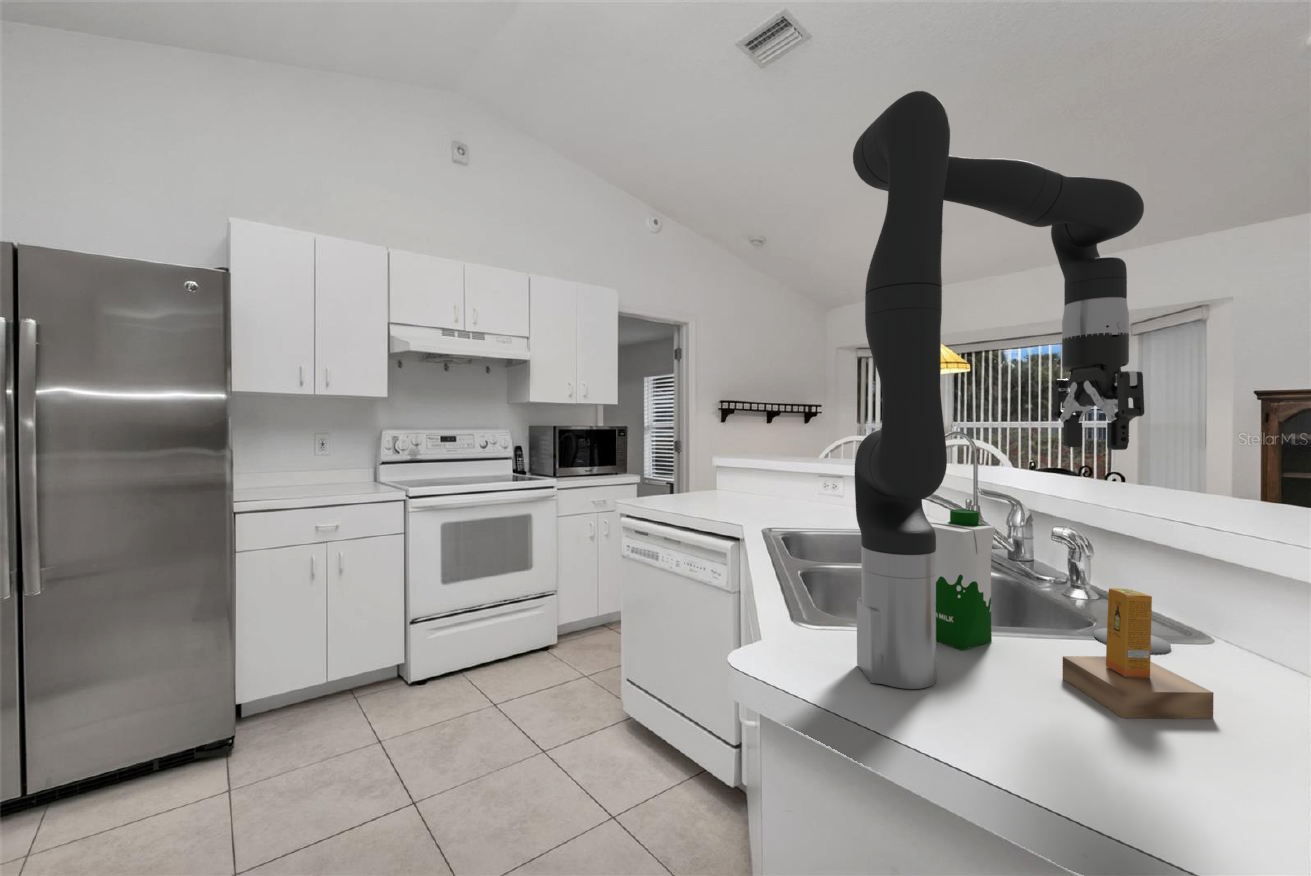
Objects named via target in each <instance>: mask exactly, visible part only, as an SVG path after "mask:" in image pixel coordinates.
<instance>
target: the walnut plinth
mask: <svg viewBox="0 0 1311 876" xmlns="http://www.w3.org/2000/svg"><path fill="white" fill-rule="evenodd" d="M1062 680H1064V681H1065V682H1066V683H1068V684H1070V685H1071V686H1073V687H1075V688H1076V689H1077V690H1079V691H1080V692H1083V694H1086V695H1087V696H1088V697H1090V698H1092V699H1093V700H1095V701H1096V702H1097V703H1099V704H1100V705H1102V706H1103V707H1105V708H1107V709H1108V710H1110V711H1111V712H1113V713H1114V714H1116V715H1117V716H1119V717H1121V718H1122V719H1204V720H1205V719H1211V720H1212V719H1213V720H1214V692H1213V691H1211V690H1209V689H1207V688H1205V687H1203V686H1201V685H1199V684H1198V683H1195V682H1193V681H1191V680H1189V679H1187V678H1185V677H1183V676H1181V675H1179V674H1177V673H1175V672H1173V671H1171V670H1169V669H1167V668H1165V667H1163V666H1161V665H1159V664H1156V662H1153V661H1152V660H1150V678H1129V677H1124V676H1122V675H1121V674H1119V673H1117V672H1116V671H1114V670H1112V669H1109V668H1108V667H1106V655H1104V656H1099V655H1098V656H1090V655H1089V656H1087V655H1086V656H1085V655H1083V656H1082V655H1081V656H1080V655H1079V656H1075V655H1074V656H1073V655H1072V656H1069V655H1063V656H1062Z"/></svg>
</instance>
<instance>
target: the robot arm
mask: <svg viewBox="0 0 1311 876" xmlns="http://www.w3.org/2000/svg"><path fill="white" fill-rule="evenodd" d="M863 131H864V130H863ZM950 145H951V125H950V119H949V116H948V112H947V111H946V109H945V106H944V105H943V103H942V102H941V100H939V98H938V97H937V96H936V95H934V94H932V93H931V92H929V91H925V90H915V91H910V92H909V93H908V92H907V93H906V94H904V95H903V96H901V97H899V98H898V99H896V100H895V101H894V102H893V103H891V104H890V105H888V107H887V108H886V109H885V110H884V111H883V112H882V113H881V114H880V115H879V116H878V117H877V118H876V119H875V120H874V121H873V122H872V123H870V125H869V126H868V127H867V128H866V129H865V131H864V132H862V133H861V135H860V136H859V137H858V139H857V141H856V142H855V145H854V148H853V152H852V163H853V167H854V169H855V172H856V174H857V175H858V178H860V179H861V181H863V182H864V183H865V184H866V185H868V186H869V187H872V188H874V189H876V190H880V191H886V192H887V205H886V211H885V212H886V213H885V216H884V221H883V223H882V226H881V230H880V234H879V237H878V239H877V242H876V246H875V249H874V251H873V255H872V256H871V257H872V258H871V260H870V263H869V267H868V271H867V276H866V282H865V290H864V291H865V294H864V295H865V296H864V303H865V304H864V307H865V309H864V314H865V315H864V316H865V317H864V324H865V325H864V327H865V334H866V340H867V343H868V347H869V350H870V353H871V356H872V358H873V362H874V366H875V368H876V370H877V373H878V378H879V381H880V385H881V393H882V394H881V395H882V396H881V397H882V411H881V412H882V414H881V429H879V430H878V429H877V430H875V431H873V432H871V433H869V434H868V435H867V436H866V437H864V439H862V441H861V442H860V444H859V446H858V447H857V451H856V453H855V460H854V495H855V497H854V498H855V499H854V500H855V518H856V521H857V525H858V527H859V531H860V537H861V538H860V539H861V540H860V541H861V596H859V597H857V598H856V664H857V666H858V668H859V669H860V670H861V671H862V673H863V674H864V675H865V677H866V678H867V679H868V680H869V682H870V683H871V684H882V685H886V686H889V687H893V688H896V689H897V688H898V689H904V690H905V689H906V690H916V689H917V690H918V689H925V688H930V687H931V686H933V685H934V684H936V682H937V663H938V662H937V641H936V534H935V530H934V528H933V527H932V526H931V524H930V523H929V522H930V521H929V520H928V519H927V517H926V515H925V512H924V511H925V510H924V509H923V500H925V499H927V498H929V497H930V496H932V495H933V494H935V493H936V491H938V490H939V488H940V486H941V485H942V483H943V481H944V478H945V475H946V472H947V466H948V454H947V442H946V441H947V440H946V433H945V426H944V415H943V414H944V413H943V407H942V405H943V404H942V392H941V391H942V390H941V373H942V372H941V370H942V368H941V367H942V364H941V363H942V356H941V355H942V354H941V353H942V351H941V350H942V349H941V348H942V347H941V343H942V342H941V341H942V340H941V339H942V338H941V337H942V335H941V333H942V310H943V308H942V307H943V303H942V302H943V301H942V298H943V290H942V289H943V288H942V287H943V283H942V280H943V279H942V248H943V245H942V244H943V242H942V241H943V216H944V215H943V211H944V201H945V202H950V203H956V204H960V205H965V206H969V207H971V208H977V209H981V210H984V211H987V212H990V213H993V214H997V215H998V216H999V215H1000V216H1001V217H1004V218H1008V219H1010V220H1013V221H1015V222H1018V223H1022V224H1025V225H1027V226H1030V227H1035V228H1045V227H1051V228H1050V229H1051V230H1050V235H1051V236H1050V237H1051V241H1052V245H1053V248H1054V251H1055V254H1056V258H1057V260H1058V264H1059V267H1060V269H1061V272H1062V276H1063V279H1064V285H1063V286H1064V292H1063V293H1064V296H1063V298H1064V304H1063V305H1064V307H1063V315H1062V321H1061V322H1062V324H1061V367H1062V369H1064V370H1067V371H1069V373H1070V375H1069V378H1057V379H1054V380H1053V387H1052V388H1053V391H1052V393H1053V394H1052V409H1051V410H1052V417H1053V419H1059V420H1060V422H1061V423H1063V424H1062V425H1063V428H1062V429H1063V435H1062V436H1063V437H1062V438H1063V446H1064V447H1065V448H1081V447H1082V446H1083V422H1082V420H1083V418H1084V416H1085V414H1086V413H1087V412H1088V411H1090V410H1091V409H1093V407H1097V409H1099V410H1102V411H1103V413H1104V414H1105V416H1106V418H1107V420H1108V421H1109V422H1107V424H1106V429H1107V430H1106V447H1107V449H1108V450H1111V451H1123V450H1124V451H1125V450H1127V449H1128V448H1129V442H1130V422H1131V421H1133V419H1135V418H1136V417H1142V416H1144V415H1145V395H1144V376H1143V375H1144V374H1143V372H1142V371H1140V370H1126V371H1124V370H1123V371H1122V367H1126V366H1128V364H1129V362H1130V314H1129V313H1130V312H1129V308H1128V298H1127V297H1128V292H1127V291H1128V286H1127V285H1128V274H1127V264H1126V261H1124V260H1123V259H1122V258H1120V257H1116V256H1101V255H1100V253H1099V250H1098V244H1101V243H1103V242H1106V241H1110V240H1112V239H1116V238H1119V237H1121V236H1123V235H1125V234H1127V233H1129V232H1130V231H1132V230H1133V229H1134V228H1135V227H1137V225H1138V224H1139V223H1140V221H1141V219H1142V217H1143V216H1144V213H1145V204H1144V200H1143V198H1142V196H1141V195H1140V193H1139V192H1138V190H1136V189H1134V187H1132V186H1131V185H1129V184H1127V183H1125V182H1122V181H1118V180H1115V179H1109V178H1100V177H1091V176H1082V175H1081V176H1080V175H1079V176H1077V175H1075V176H1074V175H1064V174H1062V173H1060V172H1058V171H1055V170H1053V169H1050V168H1048V167H1045V166H1042V165H1040V164H1036V163H1033V162H1031V161H1027V160H1022V159H1015V158H1014V159H1013V158H1001V157H997V158H995V157H991V158H988V157H987V158H986V157H964V156H956V155H950ZM1129 399H1132V406H1130V405H1129V402H1130V401H1129ZM1062 403H1063V405H1062ZM1062 406H1063V407H1064V409H1062Z"/></svg>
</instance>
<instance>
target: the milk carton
mask: <svg viewBox="0 0 1311 876" xmlns="http://www.w3.org/2000/svg"><path fill="white" fill-rule="evenodd" d="M929 523H930V524H931V526H932V527H933V528H934V530H935V534H936V642H939V643H942V644H944V645H948V646H949V647H950V646H951V647H953V648H955V649H958V650H960V651H965V650H969V649H972V648H975V647H979V646H981V645H982V646H983V645H985V644H988V643H992V642H993V641H992V640H993V639H992V637H993V636H992V634H993V633H992V552H993V550H992V549H993V544H994V534H995V529H996V528H995V526H991V525H988V524H982V523H980V512H979V511H977V510H973V509H961V508H958V509H954V508H953V509H950V510H949V519H948V520H946V519H945V520H940V521H939V520H938V521H929Z"/></svg>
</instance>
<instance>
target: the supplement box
mask: <svg viewBox="0 0 1311 876" xmlns="http://www.w3.org/2000/svg"><path fill="white" fill-rule="evenodd" d="M1152 603H1153V596H1152V595H1148V594H1146V593H1143V592H1140V591H1137V590H1134V589H1129V588H1116V587H1115V588H1114V587H1113V588H1111V587H1110V588H1108V601H1107V623H1106V624H1107V626H1106V628H1107V644H1106V649H1105V651H1106V652H1105V653H1106V654H1105V656H1106V667H1108V668H1109V669H1112V670H1114V671H1116V672H1117V673H1119V674H1121V675H1122V676H1124V677H1129V678H1150V661H1151V659H1152V658H1151V656H1152V655H1151V654H1152V653H1151V635H1152V612H1153V611H1152V607H1153V605H1152Z"/></svg>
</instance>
